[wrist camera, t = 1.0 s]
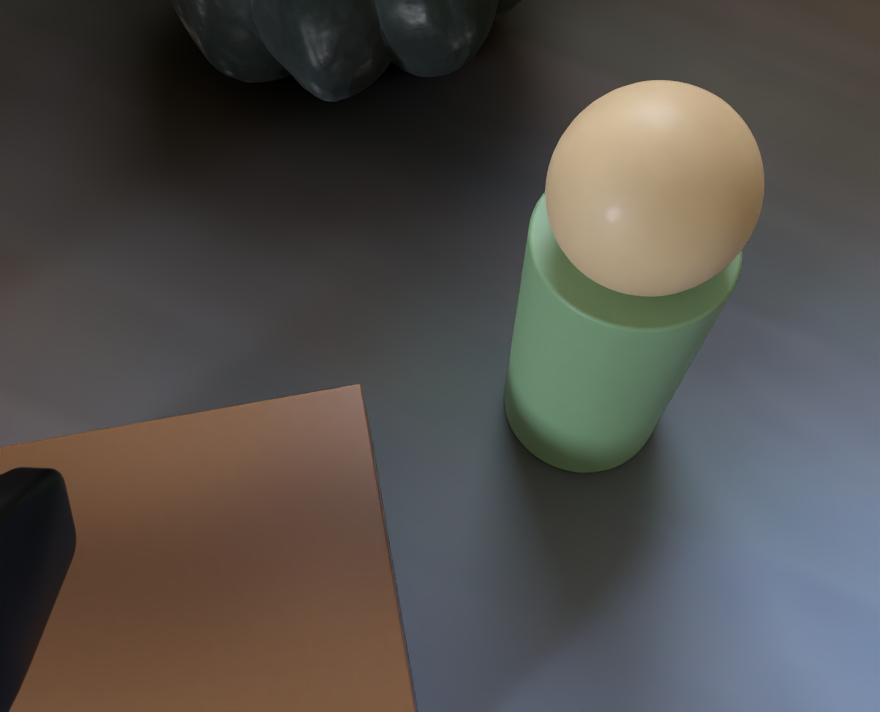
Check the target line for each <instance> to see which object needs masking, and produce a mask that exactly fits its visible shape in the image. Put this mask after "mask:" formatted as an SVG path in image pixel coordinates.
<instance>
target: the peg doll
mask: <svg viewBox="0 0 880 712" xmlns="http://www.w3.org/2000/svg"><path fill="white" fill-rule="evenodd" d="M763 196H764V169H763V164H762V159H761V155H760V151H759V148H758V146H757V143H756V141H755V139H754V137H753V135H752V133H751V131H750V129H749V128H748V126H747V125H746V123H745V122H744V121H743V119H742V118H741V117H740V116H739V115H738V114H737V113H736V112H735V111H734V110H733V108H732V107H731V106H729V105H728V104H727V103H726V102H724V101H723V100H722V99H720V98H719V97H717V96H716V95H714V94H712V93H710V92H708V91H706V90H704V89H701V88H699V87H696V86H693V85H690V84H686V83H681V82H676V81H667V80H653V81H644V82H638V83H634V84H631V85H627V86H624V87H620V88H618V89H616V90H613V91H611V92H609V93H608V94H606V95H604V96H602V97H601V98H599V99H597V100H595V101H594V102H593V103H591V104H590V105H589V106H588V107H586V108H585V109H584V110H583V111H582V112H581V113H580V114H579V115H578V116H577V117H576V118H575V119H574V120H573V121H572V123H571V124H570V125H569V127H568V128H567V129H566V131H565V132H564V134H563V135H562V136H561V138H560V140H559V142H558V144H557V146H556V148H555V150H554V152H553V155H552V158H551V161H550V165H549V168H548V172H547V178H546V189H545V192H544V194H543V195H542V197H541V198H540V199H539V201H538V202H537V204H536V206H535V208H534V210H533V213H532V216H531V219H530V222H529V229H528V236H527V243H526V250H525V256H524V263H523V270H522V277H521V284H520V291H519V297H518V304H517V311H516V318H515V325H514V332H513V338H512V345H511V352H510V359H509V366H508V373H507V379H506V386H505V394H504V404H505V411H506V415H507V418H508V422H509V424H510V426H511V428H512V430H513V432H514V434H515V435H516V437H517V438H518V440H519V441H520V442H521V443H522V444H523V446H524V447H525V448H526V449H527V450H529V451H530V452H531V453H532V454H533V455H535V456H536V457H537V458H539V459H540V460H542V461H544V462H546V463H547V464H550V465H552V466H554V467H557V468H560V469H563V470H567V471H573V472H583V473H590V472H600V471H604V470H608V469H611V468H614V467H617V466H619V465H621V464H623V463H624V462H626V461H628V460H629V459H631V458H632V457H633V456H635V455H636V454H637V453H638V452H639V451H640V450H641V448H642V447H643V446H644V444H645V443H646V442H647V440H648V438H649V437H650V435H651V433H652V431H653V429H654V428H655V426H656V424H657V422H658V421H659V419H660V417H661V415H662V414H663V412H664V410H665V408H666V407H667V405H668V403H669V401H670V400H671V398H672V396H673V394H674V393H675V391H676V389H677V387H678V386H679V384H680V382H681V380H682V379H683V377H684V375H685V373H686V372H687V370H688V368H689V366H690V365H691V363H692V361H693V359H694V358H695V356H696V354H697V352H698V351H699V349H700V347H701V345H702V343H703V342H704V340H705V338H706V336H707V335H708V333H709V331H710V329H711V328H712V326H713V324H714V322H715V321H716V319H717V317H718V315H719V314H720V312H721V310H722V308H723V307H724V305H725V303H726V301H727V300H728V298H729V296H730V294H731V293H732V291H733V289H734V287H735V285H736V283H737V281H738V278H739V274H740V271H741V265H742V249H743V247H744V246H745V244H746V243H747V242H748V240H749V238H750V236H751V234H752V232H753V231H754V228H755V226H756V224H757V221H758V218H759V215H760V212H761V207H762V203H763Z"/></svg>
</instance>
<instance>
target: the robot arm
mask: <svg viewBox="0 0 880 712" xmlns="http://www.w3.org/2000/svg"><path fill="white" fill-rule="evenodd" d="M76 542H77V539H76V529H75V524H74V520H73V515H72V511H71V506H70V502H69V497H68V493H67V488H66V484H65V481H64V478H63V476H62V474H61V473H60V472H59V471H57V470H56V469H53V468H34V467H18V468H14V469H11V470H9V471H7V472H5V473H3V474H1V475H0V712H9V711H10V709H11V707H12V705H13V703H14V701H15V699H16V697H17V695H18V693H19V691H20V688H21V686H22V684H23V682H24V679H25V677H26V675H27V672H28V670H29V668H30V665H31V663H32V660H33V658H34V655H35V653H36V650H37V648H38V645H39V643H40V640H41V638H42V635H43V633H44V630H45V628H46V625H47V623H48V620H49V618H50V615H51V612H52V610H53V607H54V605H55V602H56V600H57V597H58V595H59V592H60V590H61V587H62V585H63V582H64V580H65V577H66V575H67V572H68V570H69V567H70V565H71V562H72V560H73V557H74V554H75V549H76Z"/></svg>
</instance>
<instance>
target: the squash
mask: <svg viewBox="0 0 880 712" xmlns="http://www.w3.org/2000/svg"><path fill="white" fill-rule="evenodd" d="M520 1H521V0H171V2H172V5H173V7H174V9H175V11H176V13H177V15H178V16H179V18H180V20H181V22H182V24H183V25H184V27H185V28H186V30H187V31H188V33H189V34H190V36H191V37H192V39H193V41H194V42H195V44H196V45H197V46H198V48H199V49H200V50H201V52H202V53H203V55H204V56H205V57H206V59H207V60H208V61H209V62H210V63H211V64H212V65H213V66H214V67H215V68H216V69H217V70H218V71H219V72H221V73H222V74H224V75H225V76H228V77H231V78H234V79H237V80H240V81H243V82H258V83H261V82H268V81H275V80H278V79H281V78H284V77H287V76H289V75H290V74H291V75H292V76H293V77H294V78H295V79H296V80H297V81H298V83H299V84H300V85H301V86H302V87H303V88H305V89H306V90H307V91H309V92H310V93H311V94H313V95H314V96H315V97H317V98H319V99H321V100H324V101H334V102H337V101H339V100H342V99H345V98H349V97H352V96H354V95H356V94H357V93H359V92H361V91H363V90H364V89H365V88H367V87H368V86H369V85H371V84H372V83H373V82H374V81H376V80H377V79H378V78H379V77H380V76H381V75H382V74H383V72H384V71H385V70H386V68H387V67H388V65H389V64H390V62H392V63H393V64H394V65H395V66H397V67H398V68H400V69H401V70H403V71H405V72H408V73H411V74H413V75H416V76H421V77H435V76H441V75H446V74H450V73H453V72H455V71H456V70H458V69H460V68H461V67H462V66H463V65H465V64H466V63H468V62H469V61H470V60H471V59H472V58H473V57H474V56H475V55H476V53H477V52H478V50H479V49H480V47H481V46H482V44H483V42H484V41H485V39H486V38H487V36H488V34H489V32H490V30H491V27H492V24H493V22H494V20H495V19H497V18H499V17H500V16H502V15H503V14H505V13H507V12H508V11H509V10H511V9H512V8H513V7H514V6H515V5H516V4H517V3H519V2H520Z"/></svg>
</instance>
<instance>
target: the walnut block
mask: <svg viewBox="0 0 880 712" xmlns="http://www.w3.org/2000/svg"><path fill="white" fill-rule="evenodd" d="M18 467H34V468H53V469H56V470H57V471H59V472H60V473H61V474H62V476H63V478H64V481H65V484H66V488H67V493H68V497H69V502H70V506H71V511H72V515H73V520H74V524H75V529H76V539H77V542H76V549H75V554H74V557H73V560H72V562H71V565H70V567H69V570H68V572H67V575H66V577H65V580H64V582H63V585H62V587H61V590H60V592H59V595H58V597H57V600H56V602H55V605H54V607H53V610H52V612H51V615H50V618H49V620H48V623H47V625H46V628H45V630H44V633H43V635H42V638H41V640H40V643H39V645H38V648H37V650H36V653H35V655H34V658H33V660H32V663H31V665H30V668H29V670H28V672H27V675H26V677H25V679H24V682H23V684H22V686H21V688H20V691H19V693H18V695H17V697H16V699H15V701H14V703H13V705H12V707H11V709H10V711H9V712H418V709H417V703H416V697H415V691H414V685H413V679H412V673H411V667H410V661H409V655H408V649H407V644H406V638H405V632H404V626H403V620H402V614H401V608H400V602H399V596H398V590H397V584H396V578H395V572H394V566H393V560H392V554H391V549H390V543H389V537H388V531H387V525H386V519H385V513H384V507H383V501H382V495H381V489H380V483H379V477H378V471H377V465H376V460H375V454H374V448H373V442H372V436H371V430H370V425H369V420H368V415H367V411H366V406H365V401H364V396H363V391H362V386H361V384H355V385H349V386H343V387H338V388H332V389H326V390H321V391H315V392H309V393H304V394H298V395H292V396H287V397H281V398H275V399H270V400H264V401H259V402H253V403H247V404H242V405H236V406H230V407H225V408H219V409H213V410H208V411H202V412H196V413H191V414H185V415H179V416H174V417H168V418H163V419H157V420H151V421H146V422H140V423H134V424H129V425H123V426H117V427H112V428H106V429H100V430H95V431H89V432H83V433H78V434H72V435H67V436H61V437H55V438H50V439H44V440H38V441H33V442H27V443H21V444H16V445H10V446H4V447H1V448H0V475H1V474H3V473H5V472H7V471H9V470H11V469H14V468H18Z"/></svg>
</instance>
